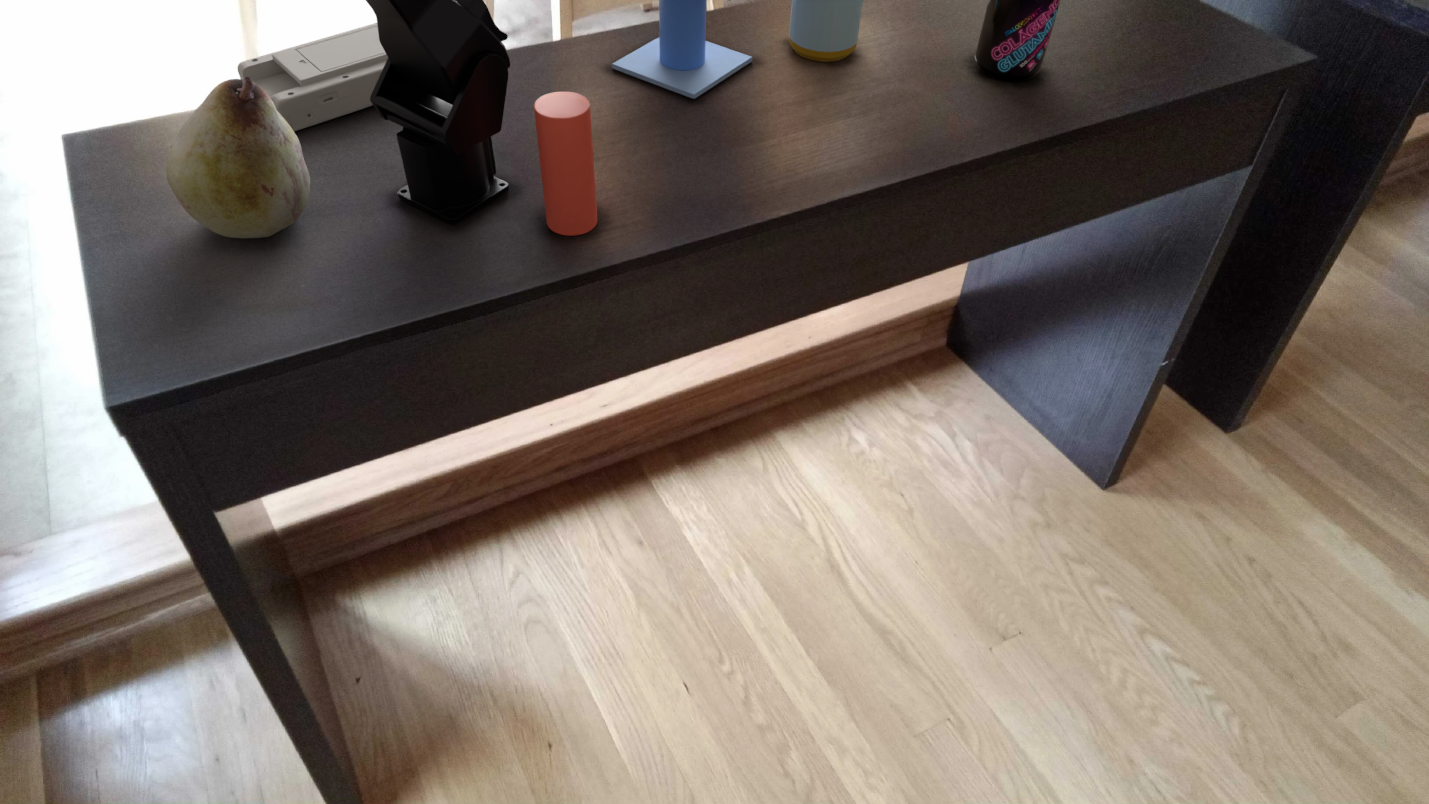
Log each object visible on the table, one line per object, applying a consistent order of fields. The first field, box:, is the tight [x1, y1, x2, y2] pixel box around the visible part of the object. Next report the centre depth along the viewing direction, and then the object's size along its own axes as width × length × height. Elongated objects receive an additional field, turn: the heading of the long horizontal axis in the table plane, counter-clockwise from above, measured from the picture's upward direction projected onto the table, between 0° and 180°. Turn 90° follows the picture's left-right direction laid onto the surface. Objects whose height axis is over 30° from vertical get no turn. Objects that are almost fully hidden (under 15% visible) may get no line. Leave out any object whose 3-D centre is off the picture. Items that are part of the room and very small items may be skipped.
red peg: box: [533, 91, 598, 237], centre depth 72 cm, size 4×4×10 cm
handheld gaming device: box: [237, 22, 388, 132], centre depth 87 cm, size 9×15×4 cm, turn 131°
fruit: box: [165, 76, 311, 239], centre depth 69 cm, size 10×9×12 cm
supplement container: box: [974, 0, 1062, 83], centre depth 93 cm, size 7×7×10 cm
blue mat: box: [611, 36, 753, 100], centre depth 94 cm, size 10×10×1 cm
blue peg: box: [658, 0, 708, 71], centre depth 91 cm, size 4×4×10 cm
